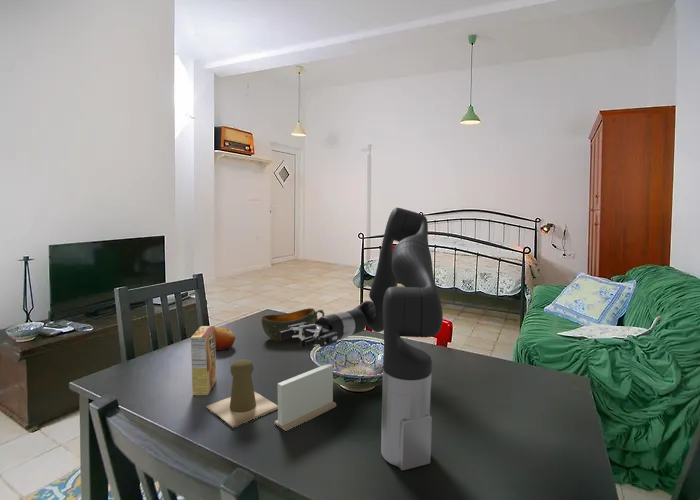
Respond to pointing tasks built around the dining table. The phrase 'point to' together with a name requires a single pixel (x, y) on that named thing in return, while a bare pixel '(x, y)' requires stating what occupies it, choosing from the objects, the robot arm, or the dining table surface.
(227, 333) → the fruit
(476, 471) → the dining table surface
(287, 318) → the green gravy boat
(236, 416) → the board
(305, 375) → the screen
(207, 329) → the candy box
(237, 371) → the pepper mill
